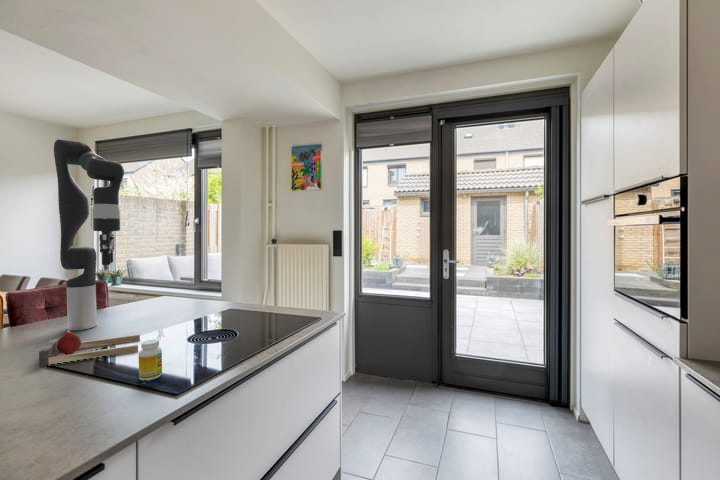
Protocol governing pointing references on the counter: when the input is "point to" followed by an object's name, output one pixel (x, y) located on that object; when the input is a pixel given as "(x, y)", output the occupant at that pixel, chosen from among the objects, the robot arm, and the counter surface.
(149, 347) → the supplement bottle
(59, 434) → the counter surface
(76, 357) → the guide rails
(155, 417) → the counter surface
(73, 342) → the onion
